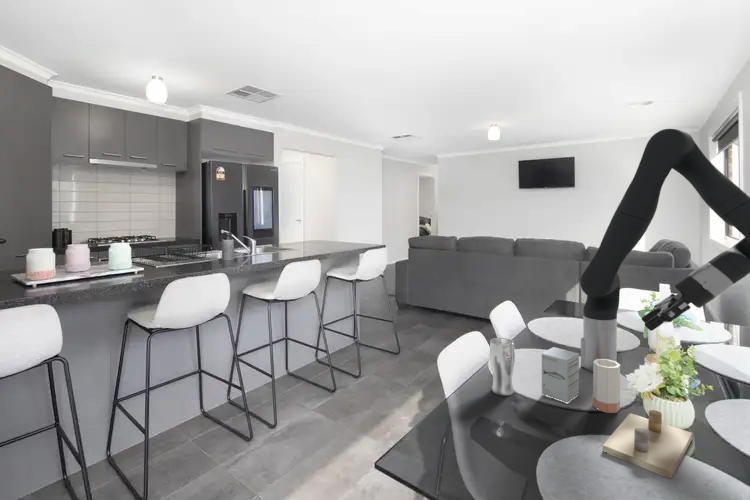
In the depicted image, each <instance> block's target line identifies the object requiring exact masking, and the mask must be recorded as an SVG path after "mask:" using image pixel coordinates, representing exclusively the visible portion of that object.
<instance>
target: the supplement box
mask: <svg viewBox="0 0 750 500" xmlns="http://www.w3.org/2000/svg"><path fill="white" fill-rule="evenodd" d="M579 381H580V353H579V352H576V351H575V352H574V351H570V350H567V349H563V348H559V347H557V346H556V347H554V346H552V347H551V348H549V349H547V350H545V351H544V352H542V353H541V395H542V394H544V395H548V396H550V397H553V398H556V399H559V400H562V401H564V402H569V401H570V400H571V399H573V398H574V397H576V396H577V395H578V396H579V390H580V389H579V387H580V382H579ZM576 398H577V397H576Z"/></svg>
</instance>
